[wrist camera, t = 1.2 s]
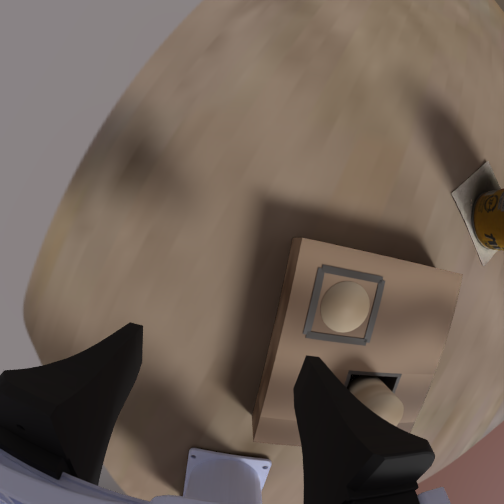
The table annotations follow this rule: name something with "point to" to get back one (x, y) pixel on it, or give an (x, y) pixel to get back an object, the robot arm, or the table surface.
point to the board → (354, 329)
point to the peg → (377, 397)
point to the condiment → (483, 211)
